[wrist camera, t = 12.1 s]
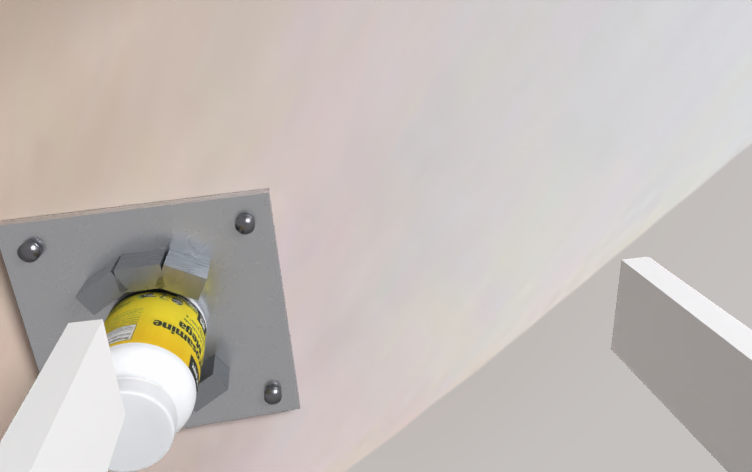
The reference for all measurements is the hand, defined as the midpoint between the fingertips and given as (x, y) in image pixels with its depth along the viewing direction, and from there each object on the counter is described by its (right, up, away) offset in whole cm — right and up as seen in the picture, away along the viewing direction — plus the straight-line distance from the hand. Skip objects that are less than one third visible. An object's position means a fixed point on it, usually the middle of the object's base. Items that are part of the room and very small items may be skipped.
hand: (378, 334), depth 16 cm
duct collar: (-14, -3, +25) cm, 29 cm away
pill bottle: (-14, -3, +25) cm, 29 cm away
